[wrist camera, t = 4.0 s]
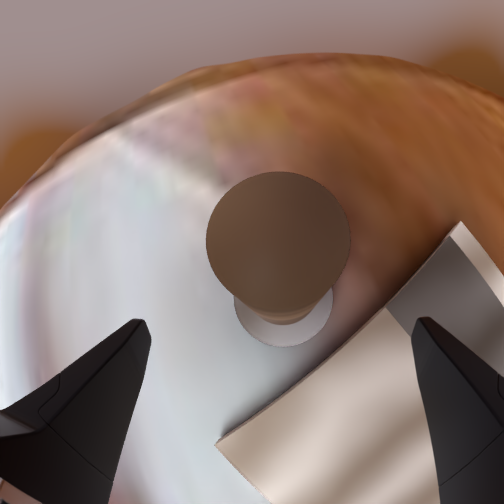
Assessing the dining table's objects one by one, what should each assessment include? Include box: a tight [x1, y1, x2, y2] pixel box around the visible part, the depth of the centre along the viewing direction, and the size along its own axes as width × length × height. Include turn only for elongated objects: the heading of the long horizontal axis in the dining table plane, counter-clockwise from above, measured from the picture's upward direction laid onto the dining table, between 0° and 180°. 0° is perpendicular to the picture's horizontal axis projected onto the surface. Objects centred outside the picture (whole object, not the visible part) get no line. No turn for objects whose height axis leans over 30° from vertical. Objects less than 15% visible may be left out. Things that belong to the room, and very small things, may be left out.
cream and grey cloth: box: [214, 221, 504, 504], centre depth 15 cm, size 16×22×1 cm
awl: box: [206, 172, 351, 347], centre depth 13 cm, size 6×6×12 cm
